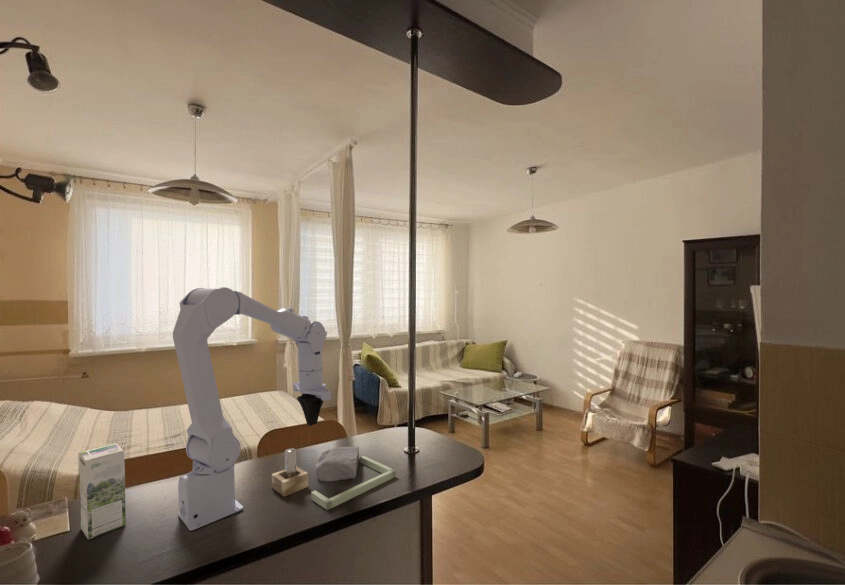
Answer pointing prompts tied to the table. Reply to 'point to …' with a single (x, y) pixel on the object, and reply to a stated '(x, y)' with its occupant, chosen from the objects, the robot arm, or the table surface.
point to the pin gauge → (290, 463)
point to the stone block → (338, 464)
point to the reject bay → (359, 489)
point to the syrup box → (102, 490)
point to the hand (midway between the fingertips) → (312, 424)
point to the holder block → (289, 482)
